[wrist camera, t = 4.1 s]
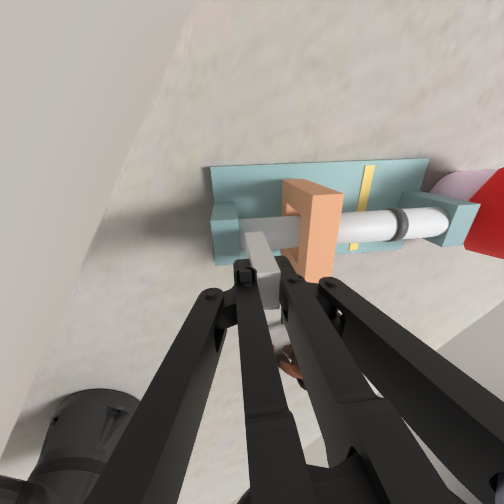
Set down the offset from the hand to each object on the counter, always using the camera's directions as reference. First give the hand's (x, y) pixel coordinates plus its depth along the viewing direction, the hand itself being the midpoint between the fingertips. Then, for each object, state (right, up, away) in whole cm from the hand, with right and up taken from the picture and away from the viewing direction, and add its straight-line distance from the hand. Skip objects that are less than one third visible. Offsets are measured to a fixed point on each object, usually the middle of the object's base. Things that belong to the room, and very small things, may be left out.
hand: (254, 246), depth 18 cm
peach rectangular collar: (+4, +4, +7) cm, 9 cm away
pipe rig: (+8, +5, +9) cm, 13 cm away
